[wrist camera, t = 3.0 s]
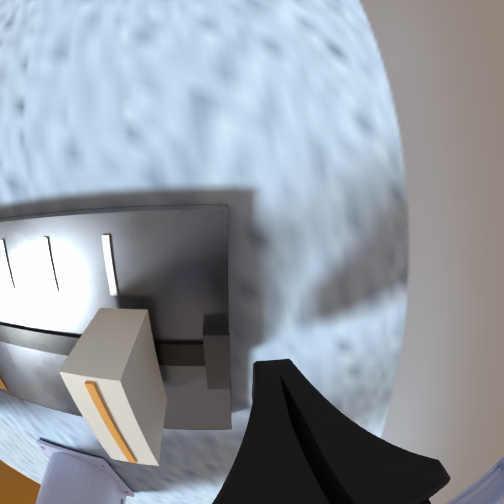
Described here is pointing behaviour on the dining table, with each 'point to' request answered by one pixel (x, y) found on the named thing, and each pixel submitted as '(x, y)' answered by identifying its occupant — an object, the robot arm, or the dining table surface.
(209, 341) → the console
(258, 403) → the robot arm
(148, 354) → the block
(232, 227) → the dining table surface
